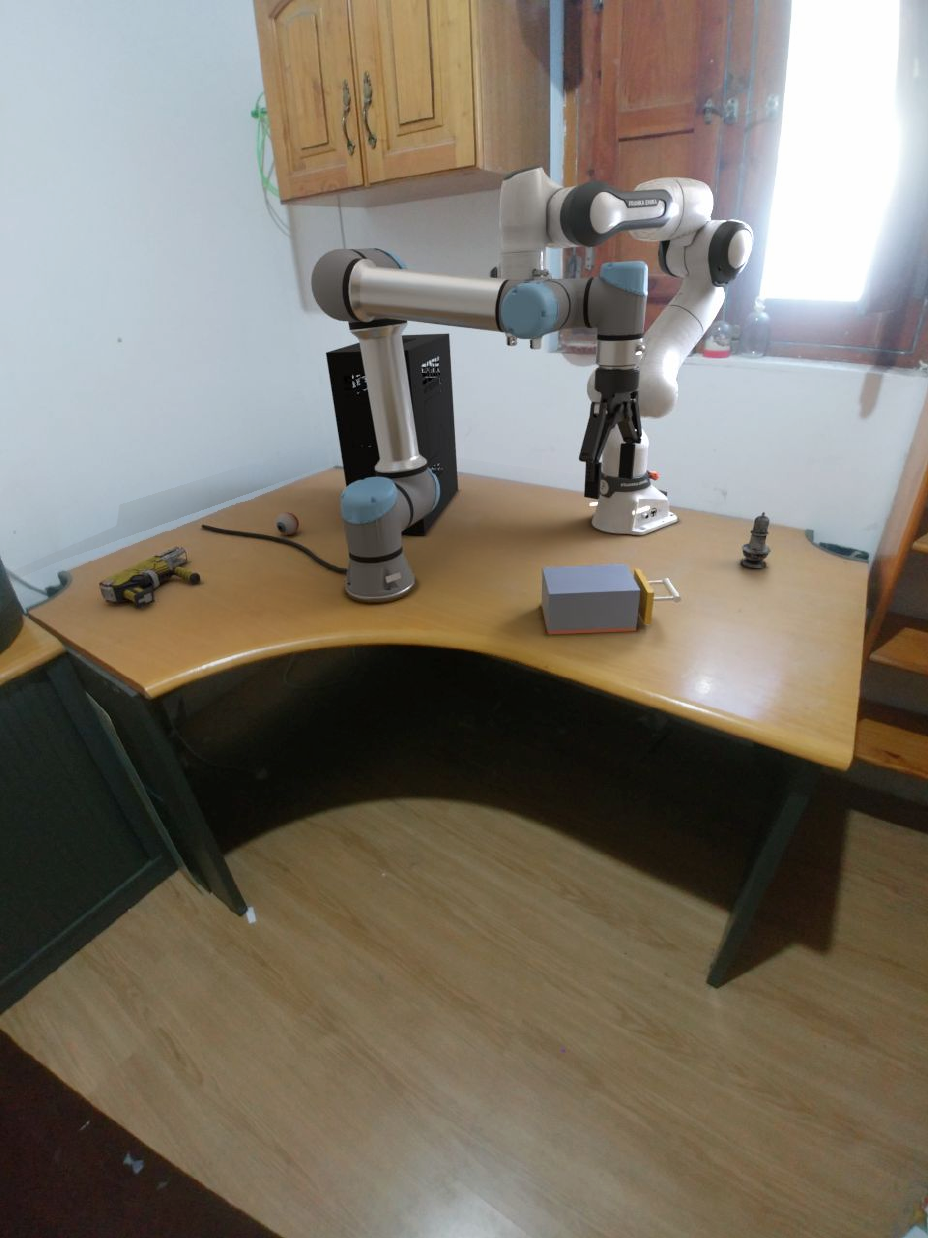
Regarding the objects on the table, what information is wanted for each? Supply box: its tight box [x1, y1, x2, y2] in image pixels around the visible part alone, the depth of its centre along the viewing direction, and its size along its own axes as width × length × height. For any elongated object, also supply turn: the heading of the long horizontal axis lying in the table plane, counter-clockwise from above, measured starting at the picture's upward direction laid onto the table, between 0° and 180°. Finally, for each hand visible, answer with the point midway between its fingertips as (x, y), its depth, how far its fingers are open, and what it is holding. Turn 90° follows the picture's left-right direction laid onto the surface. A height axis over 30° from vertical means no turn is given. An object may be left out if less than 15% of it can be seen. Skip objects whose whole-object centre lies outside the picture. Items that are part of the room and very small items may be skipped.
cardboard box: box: [325, 333, 459, 536], centre depth 166 cm, size 38×20×45 cm, turn 167°
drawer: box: [633, 568, 682, 626], centre depth 116 cm, size 21×10×7 cm, turn 90°
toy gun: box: [98, 546, 201, 609], centre depth 140 cm, size 5×24×15 cm
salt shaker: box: [739, 511, 772, 569], centre depth 132 cm, size 6×6×12 cm
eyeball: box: [275, 511, 300, 536], centre depth 163 cm, size 6×6×6 cm
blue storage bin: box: [541, 563, 640, 635], centre depth 116 cm, size 16×11×9 cm
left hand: (609, 487), depth 113 cm, fingers open, 13 cm apart
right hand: (523, 347), depth 124 cm, fingers open, 8 cm apart
